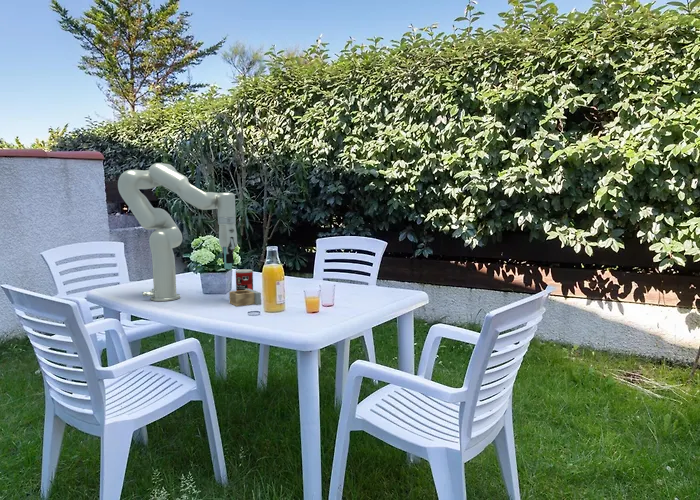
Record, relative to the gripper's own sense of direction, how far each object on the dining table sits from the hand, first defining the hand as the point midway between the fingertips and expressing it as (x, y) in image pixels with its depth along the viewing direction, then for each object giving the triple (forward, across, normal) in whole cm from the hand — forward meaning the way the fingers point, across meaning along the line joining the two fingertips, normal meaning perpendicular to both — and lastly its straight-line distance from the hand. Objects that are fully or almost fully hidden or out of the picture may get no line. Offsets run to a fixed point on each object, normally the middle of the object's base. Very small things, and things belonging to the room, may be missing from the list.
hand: (228, 262), depth 216 cm
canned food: (+17, +10, -12) cm, 23 cm away
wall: (+17, -10, -7) cm, 21 cm away
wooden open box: (+17, -10, -2) cm, 20 cm away
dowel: (+3, 0, 0) cm, 3 cm away
